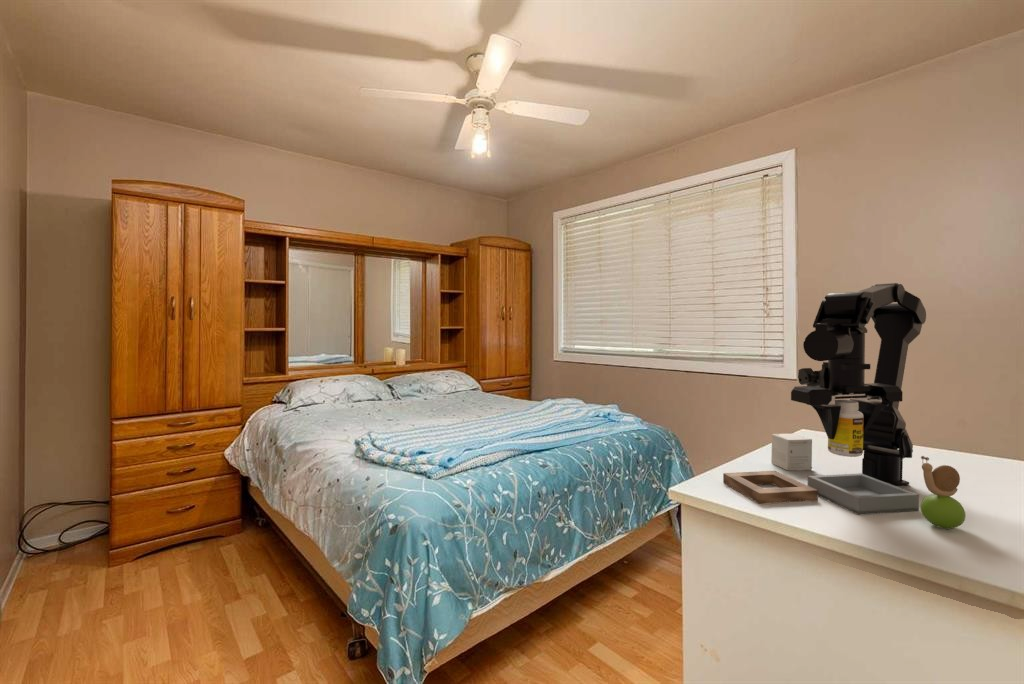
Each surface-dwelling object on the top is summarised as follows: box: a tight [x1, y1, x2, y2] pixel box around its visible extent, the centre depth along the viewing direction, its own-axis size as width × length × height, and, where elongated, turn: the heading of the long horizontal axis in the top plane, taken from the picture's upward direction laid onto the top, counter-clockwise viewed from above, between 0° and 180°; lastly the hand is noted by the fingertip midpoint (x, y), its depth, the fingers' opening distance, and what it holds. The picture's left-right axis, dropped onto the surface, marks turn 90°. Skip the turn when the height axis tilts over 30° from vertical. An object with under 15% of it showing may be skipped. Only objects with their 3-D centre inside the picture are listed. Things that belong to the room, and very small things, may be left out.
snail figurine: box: [920, 455, 966, 530], centre depth 76 cm, size 5×6×12 cm
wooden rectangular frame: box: [722, 470, 819, 505], centre depth 94 cm, size 12×12×2 cm
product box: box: [770, 433, 813, 472], centre depth 110 cm, size 6×6×7 cm
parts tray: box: [807, 472, 920, 516], centre depth 89 cm, size 12×12×3 cm
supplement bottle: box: [827, 399, 864, 458], centre depth 89 cm, size 6×6×10 cm
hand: (845, 438), depth 89 cm, fingers closed on supplement bottle, 5 cm apart
